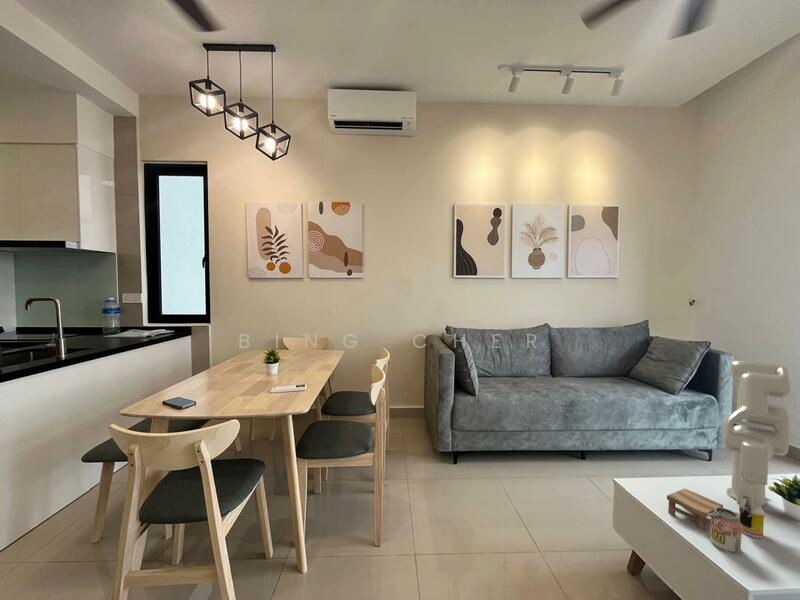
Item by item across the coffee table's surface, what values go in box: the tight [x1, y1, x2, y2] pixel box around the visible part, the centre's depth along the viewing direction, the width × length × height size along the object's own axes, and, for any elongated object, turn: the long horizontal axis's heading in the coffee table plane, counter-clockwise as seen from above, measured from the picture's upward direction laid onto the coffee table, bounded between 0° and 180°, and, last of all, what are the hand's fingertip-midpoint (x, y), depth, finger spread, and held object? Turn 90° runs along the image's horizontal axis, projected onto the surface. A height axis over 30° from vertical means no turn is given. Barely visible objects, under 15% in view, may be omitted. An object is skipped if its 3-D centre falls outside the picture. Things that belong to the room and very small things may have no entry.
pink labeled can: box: [707, 507, 743, 554], centre depth 128 cm, size 9×8×12 cm
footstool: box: [666, 488, 724, 531], centre depth 144 cm, size 13×13×7 cm
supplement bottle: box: [738, 503, 765, 539], centre depth 135 cm, size 7×7×13 cm
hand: (750, 522), depth 135 cm, fingers open, 7 cm apart
